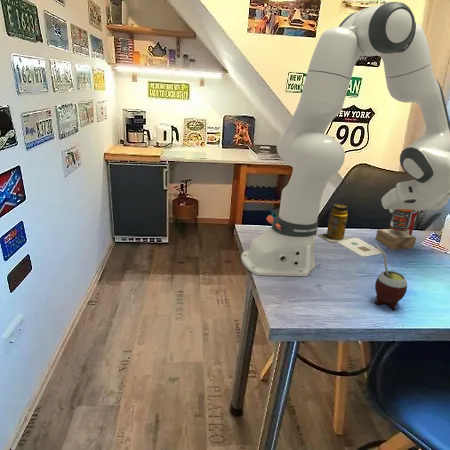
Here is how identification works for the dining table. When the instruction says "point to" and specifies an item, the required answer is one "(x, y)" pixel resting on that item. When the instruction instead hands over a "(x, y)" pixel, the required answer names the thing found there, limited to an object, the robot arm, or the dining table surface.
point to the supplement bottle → (401, 219)
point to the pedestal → (395, 239)
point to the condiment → (336, 223)
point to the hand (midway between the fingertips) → (401, 211)
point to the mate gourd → (389, 286)
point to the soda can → (411, 223)
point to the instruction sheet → (359, 247)
